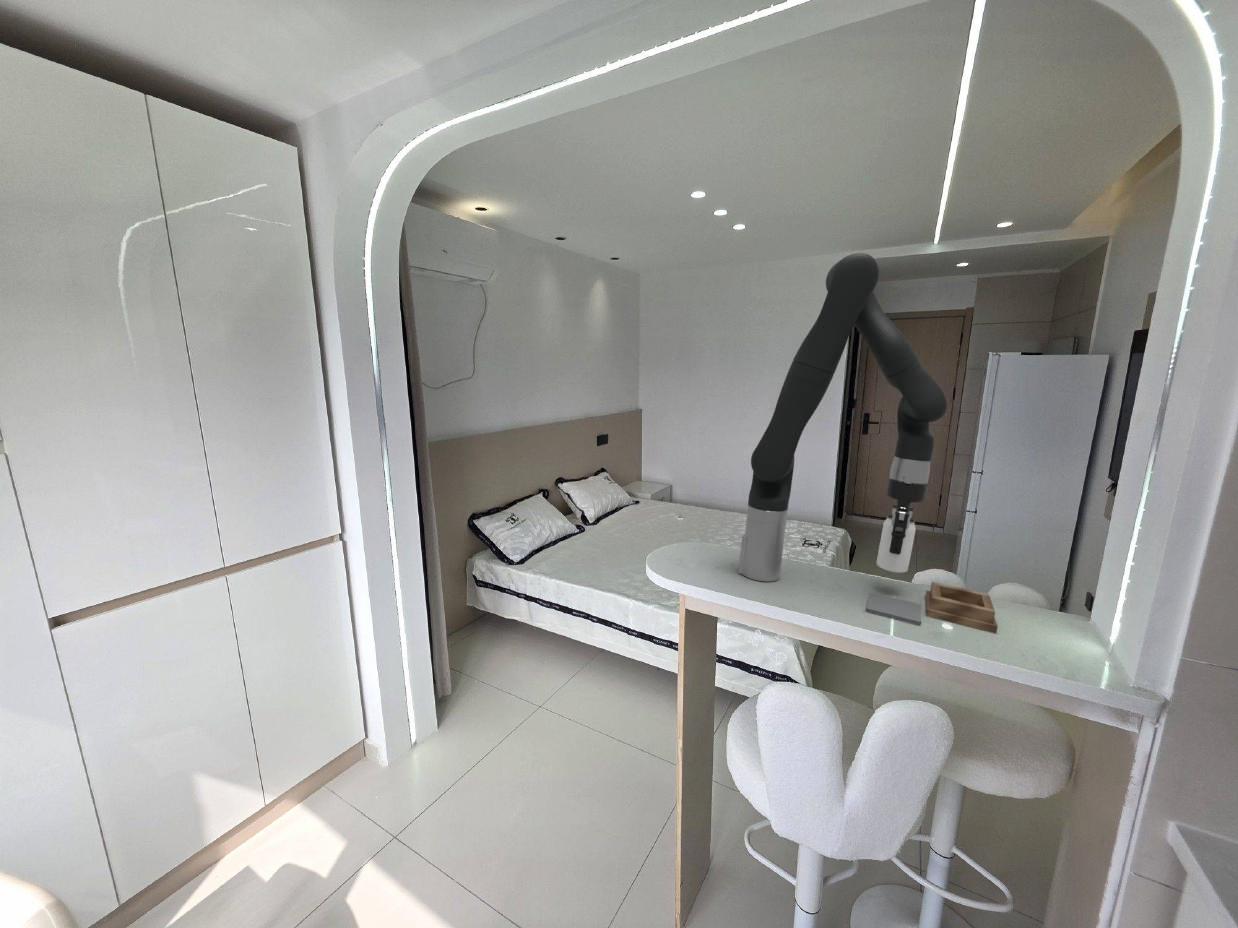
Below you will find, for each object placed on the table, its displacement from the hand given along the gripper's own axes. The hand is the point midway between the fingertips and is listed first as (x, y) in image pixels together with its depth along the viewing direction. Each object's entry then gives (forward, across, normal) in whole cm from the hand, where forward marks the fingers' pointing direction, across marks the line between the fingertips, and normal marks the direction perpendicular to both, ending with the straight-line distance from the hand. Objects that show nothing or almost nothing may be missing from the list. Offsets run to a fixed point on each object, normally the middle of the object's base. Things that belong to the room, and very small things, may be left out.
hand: (895, 549), depth 114 cm
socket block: (+10, +3, +14) cm, 17 cm away
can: (+5, 0, 0) cm, 5 cm away
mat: (+10, +10, +2) cm, 15 cm away
